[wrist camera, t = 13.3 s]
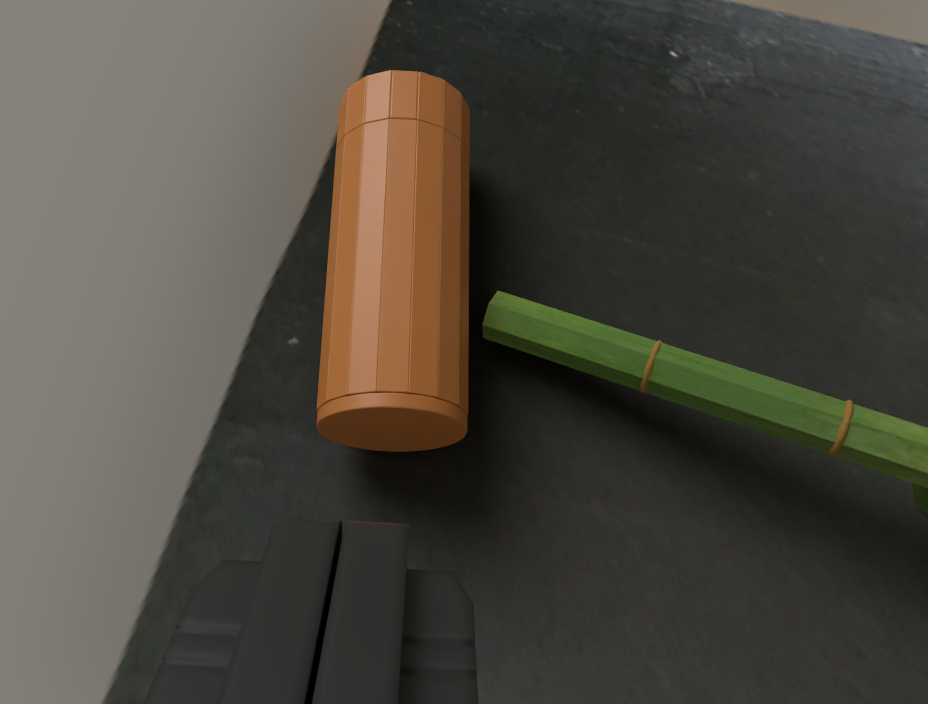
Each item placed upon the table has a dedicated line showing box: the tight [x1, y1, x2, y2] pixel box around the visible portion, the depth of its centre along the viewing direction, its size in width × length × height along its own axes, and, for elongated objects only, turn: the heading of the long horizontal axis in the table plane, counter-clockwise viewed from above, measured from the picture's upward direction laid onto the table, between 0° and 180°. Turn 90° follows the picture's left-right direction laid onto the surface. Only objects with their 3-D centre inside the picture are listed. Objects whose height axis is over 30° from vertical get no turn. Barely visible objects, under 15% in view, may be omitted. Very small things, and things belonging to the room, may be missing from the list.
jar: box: [317, 70, 470, 452], centre depth 36 cm, size 6×6×15 cm
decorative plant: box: [482, 291, 928, 519], centre depth 35 cm, size 6×8×30 cm
